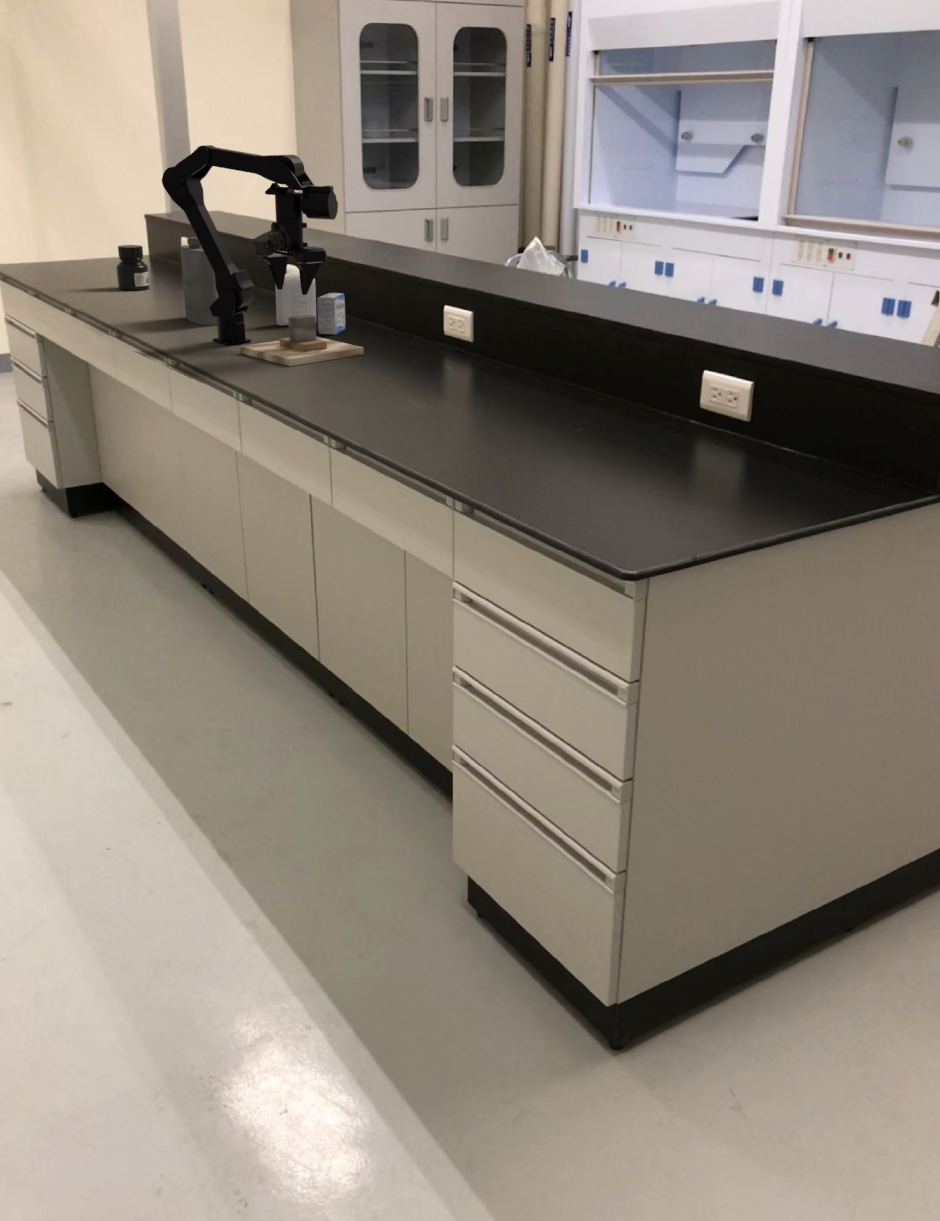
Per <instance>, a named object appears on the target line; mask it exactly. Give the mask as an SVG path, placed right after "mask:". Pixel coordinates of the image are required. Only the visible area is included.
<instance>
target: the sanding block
mask: <svg viewBox="0 0 940 1221" xmlns="http://www.w3.org/2000/svg"><path fill="white" fill-rule="evenodd" d="M288 320H289V325H288V336H289V337H282V338H279V339H278V341H279V342H280V346H283V347H287V348H291V349H295V350H299V351H303V352H307V351H313V350H320V349H326V348H327V341H323V340H318V339H316V337H317V316H316V317H315V316H311V315H300V316H292V317H288Z"/></svg>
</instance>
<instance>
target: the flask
mask: <svg viewBox="0 0 940 1221" xmlns="http://www.w3.org/2000/svg"><path fill="white" fill-rule="evenodd" d="M186 241H187V242H186V243H187V244H184V245H181V246H180V247H179V249H180V261H181V272H182V283H183V286H182V287H183V296H184V310H185V318H186V319H187V320H188V321H189V322H191V323H192V324H193V323H194V324H197V325H200V326H205V327H206V326H208V327H210V326H211V327H212V326H217V317H214V316H212V313H211V311H210V306H211V305H212V304H213V303H214V301H215V300H216V299H217V298H218V293H217V290H216V287H215V274H214V271H213V269H212V267H211V265H210V263H209V261H208V259H207V257H206V255H205V253H204V251H203V249H202V247H201V245H200V243H199V241H198V239H197V236H190V237H188V238H187V239H186Z"/></svg>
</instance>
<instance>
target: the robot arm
mask: <svg viewBox="0 0 940 1221" xmlns="http://www.w3.org/2000/svg"><path fill="white" fill-rule="evenodd" d="M213 167H216V168H223V169H227V170H233V171H239V172H244V173H250V174H255V175H258V176H259V177H260V176H261V177H262V178H264V179H266V180H268V181H271V182H272V183H271V185H270V186H269V187H268V188H267V189H266V190H265V192H264V193H265V195H268V196H269V195H271V196H274V203H275V205H274V206H275V221H272V222H271V224H270V225H271V226H270V230H268V231H267V232H264V233H262V234H260V235H259V236H256V237H254V238H253V239H252V242H253V244H254V249H255V255H258V256H259V259H260V260H262V261H264V263H266V264H267V266H268V267H269V270H270V272H271V275H272V277H273V281H274V285H275V284H276V286H277V289H278V290H281V289H282V288H283V284H284V279H285V274H286V272H287V266H288V260H289V256H290V257H293V259H294V260H295V262H294V263H293V264H294V265H295V267H296V268H297V269H298V271H299V272H298V273H299V274H300V283H301V291H302V294H303V295H307V293H308V291H309V289H310V286H311V284H312V282H313V279H315V277H316V275H317V273H318V272H319V268H320V267H321V266H323V264H324V262H327V257H328V256H327V251H326V250H325V249H324V247H321V246H314V245H313V246H308V242H306V241H304V229H307V228H308V223H307V222H304V221H303V220H304V218H303V217H304V216H303V215H305V217H306V218H307V219H312V220H313V219H314V220H335V219H336V217H337V215H338V212H339V209H338V207H339V203H338V202H339V201H338V200H337V195H336V193H335V192H334V185H322V186H320V185H315V184H314V182H313V180H312V179H311V178H310V176H309V175H308V173H307V172H306V170H305V164H304V162H303V161H302V160H301V158H300V156H297V155H295V154H273V155H271V154H270V155H262V154H256V153H251V152H245V151H239V150H232V149H228V148H227V149H226V148H222V147H221V148H220V147H216V146H214V145H210V144H209V145H207V144H206V145H199V146H197V148H196V149H195V150H193V152H192V153H191V154H189V155H188V156H186V157H185V158H183V159H182V160H180V161H179V162H178V163H176V164H175V165H174V166H169V167H168V168H166V169H165V170H164V172H163V174H162V178H161V184H162V187H163V188H164V189H165V191H166V193H167V195H168V196H169V197H170V199H171V200H172V201H173V202H174V203H175V204H176V205H177V206H178V207H179V208H180V209H181V210H182V211H183V213H184V214H185V216H186V218H187V220H188V223H189V224H190V226H191V228H192V230H193V233H194V234H195V237H197V239H198V241H199V243H200V245H201V247H202V249H203V251H204V253H205V255H206V257H207V259H208V261H209V263H210V265H211V267H212V269H213V271H214V274H215V287H216V290H217V293H218V298H217V299H216V300H215V301H214V303H213V304H212V305H211V306H210V311H211V313H212V316H214V317H217V325H216V326H217V327H216V328H217V337H216V338H212V342H216V343H219V344H224V345H235V344H236V345H237V344H244V343H250V342H252V339H251V338H248V337H246V323H245V316H244V314H243V313H248V311H249V306H250V305H251V304H252V302H253V301H254V298H255V295H256V294H255V290H254V287H256V286H255V284H254V283H253V282H252V280H251V277H250V275H249V271H248V270H247V269H246V268H244V269H239V268H238V267H237V266H236V265H235V264H234V262H233V259H232V258H231V256H230V254H229V252H228V250H227V247H226V246H225V244H224V242H223V240H222V237H221V235H220V233H219V231H218V230H217V227H216V224H215V223H214V221H213V219H212V217H211V215H210V213H209V210H208V209H207V207H206V205H205V197H204V196H205V195H204V188H203V185H202V180H203V179H204V178H205V177H206V176H207V175H208V173H209V172H210V171H211V169H212V168H213ZM281 185H285V186H281ZM297 191H298V192H297ZM299 191H302V192H299Z"/></svg>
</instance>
